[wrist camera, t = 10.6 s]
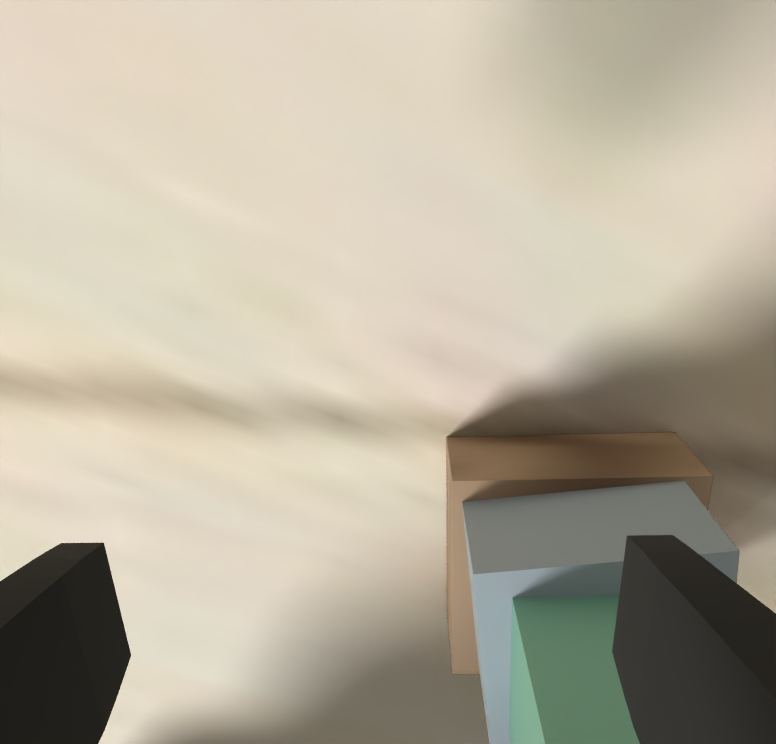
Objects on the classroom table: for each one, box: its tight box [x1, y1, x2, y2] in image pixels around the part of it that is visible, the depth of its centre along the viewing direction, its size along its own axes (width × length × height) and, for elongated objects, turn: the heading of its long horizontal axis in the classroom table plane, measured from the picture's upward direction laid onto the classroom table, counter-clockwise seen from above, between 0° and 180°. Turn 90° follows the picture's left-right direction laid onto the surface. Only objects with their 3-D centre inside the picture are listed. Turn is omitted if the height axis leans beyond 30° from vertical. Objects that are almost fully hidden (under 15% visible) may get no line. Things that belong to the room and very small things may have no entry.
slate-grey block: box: [462, 480, 739, 744], centre depth 17 cm, size 6×6×3 cm
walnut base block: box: [446, 432, 713, 674], centre depth 20 cm, size 7×7×3 cm
